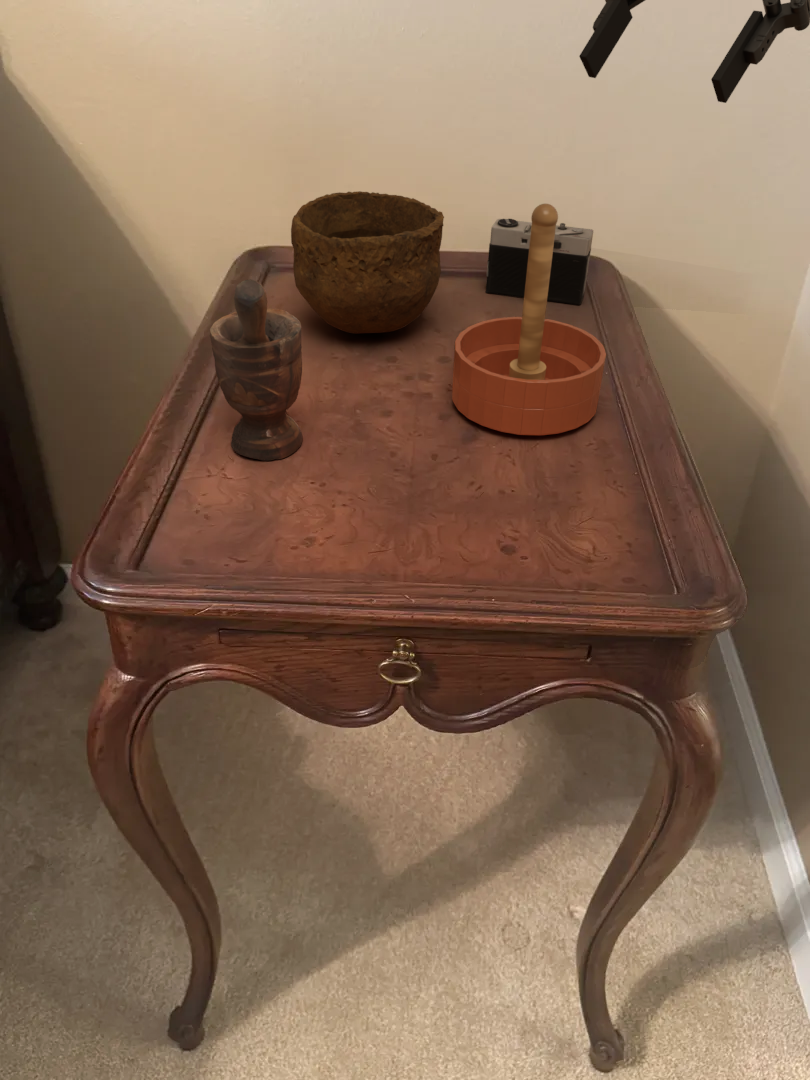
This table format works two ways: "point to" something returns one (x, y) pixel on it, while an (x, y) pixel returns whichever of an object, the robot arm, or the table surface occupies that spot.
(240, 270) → the table surface
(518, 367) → the muddler
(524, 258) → the camera
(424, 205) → the bowl
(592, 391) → the mixing bowl
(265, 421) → the mortar and pestle
